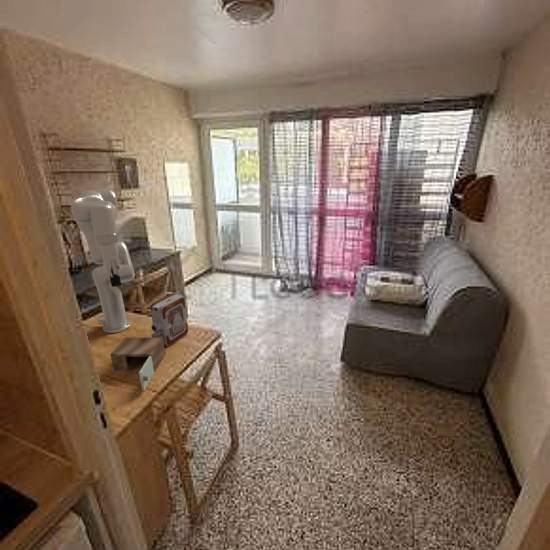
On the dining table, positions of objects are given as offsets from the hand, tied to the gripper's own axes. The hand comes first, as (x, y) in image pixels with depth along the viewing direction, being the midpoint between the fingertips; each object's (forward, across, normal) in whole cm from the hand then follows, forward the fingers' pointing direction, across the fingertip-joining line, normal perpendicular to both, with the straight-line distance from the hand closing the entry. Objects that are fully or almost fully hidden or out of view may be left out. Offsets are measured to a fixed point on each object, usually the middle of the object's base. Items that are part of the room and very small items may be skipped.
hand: (116, 285), depth 126 cm
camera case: (+32, +7, +3) cm, 33 cm away
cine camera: (+32, -3, +17) cm, 36 cm away
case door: (+32, +21, +3) cm, 38 cm away
